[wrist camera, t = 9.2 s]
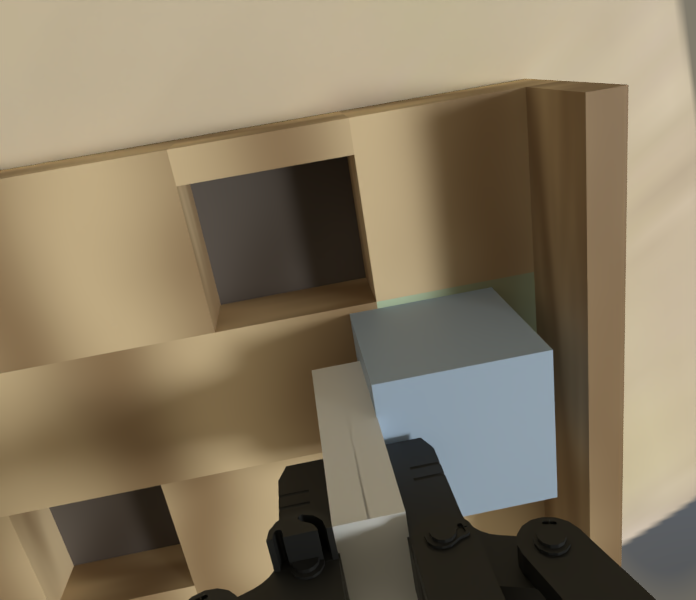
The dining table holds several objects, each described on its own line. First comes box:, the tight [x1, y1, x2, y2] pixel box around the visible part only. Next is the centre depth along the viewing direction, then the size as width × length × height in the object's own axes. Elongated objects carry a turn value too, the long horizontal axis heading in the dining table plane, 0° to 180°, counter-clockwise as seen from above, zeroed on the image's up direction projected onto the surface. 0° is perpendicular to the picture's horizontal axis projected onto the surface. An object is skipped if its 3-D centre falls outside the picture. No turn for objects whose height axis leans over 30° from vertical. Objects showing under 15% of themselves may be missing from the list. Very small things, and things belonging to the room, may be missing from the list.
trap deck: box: [0, 79, 628, 600], centre depth 19 cm, size 24×16×6 cm, turn 99°
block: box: [350, 287, 557, 517], centre depth 18 cm, size 4×4×4 cm
